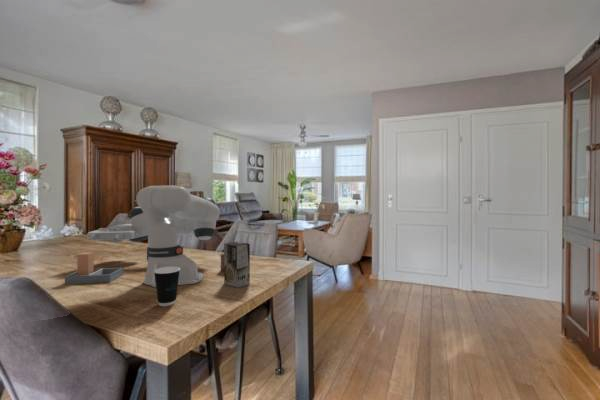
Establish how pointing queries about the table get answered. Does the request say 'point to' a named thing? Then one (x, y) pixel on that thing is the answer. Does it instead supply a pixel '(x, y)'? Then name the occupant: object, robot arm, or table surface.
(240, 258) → the coffee box
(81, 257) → the block
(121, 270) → the organiser
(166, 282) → the dixie cup
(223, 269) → the lighter
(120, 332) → the table surface
